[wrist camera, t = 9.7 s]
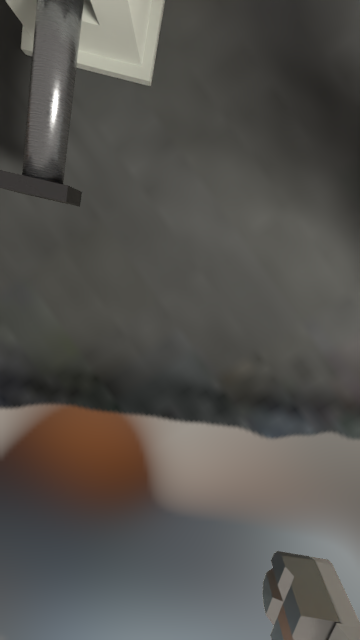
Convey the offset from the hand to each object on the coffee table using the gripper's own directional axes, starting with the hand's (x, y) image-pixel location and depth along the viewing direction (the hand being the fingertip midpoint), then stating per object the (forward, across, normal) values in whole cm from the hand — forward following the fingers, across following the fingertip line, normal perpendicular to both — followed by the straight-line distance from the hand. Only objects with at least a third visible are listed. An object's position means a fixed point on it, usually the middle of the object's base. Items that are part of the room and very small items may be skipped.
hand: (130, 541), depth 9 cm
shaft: (+22, +12, -18) cm, 31 cm away
